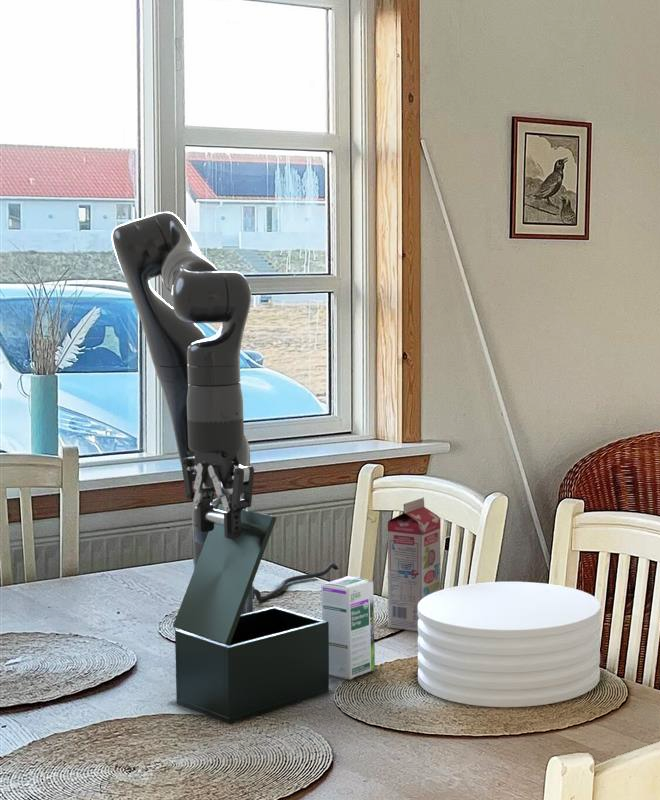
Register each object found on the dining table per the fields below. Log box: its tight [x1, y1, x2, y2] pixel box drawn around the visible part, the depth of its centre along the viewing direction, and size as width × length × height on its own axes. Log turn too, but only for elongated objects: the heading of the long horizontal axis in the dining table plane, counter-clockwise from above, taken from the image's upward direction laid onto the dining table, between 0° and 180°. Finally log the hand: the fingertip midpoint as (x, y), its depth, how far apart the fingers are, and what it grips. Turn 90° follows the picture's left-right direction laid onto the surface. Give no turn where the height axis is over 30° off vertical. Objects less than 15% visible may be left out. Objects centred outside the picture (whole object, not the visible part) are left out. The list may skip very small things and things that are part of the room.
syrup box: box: [320, 575, 376, 680], centre depth 209 cm, size 6×6×14 cm
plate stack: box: [417, 581, 602, 708], centre depth 209 cm, size 28×28×12 cm
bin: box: [174, 606, 330, 725], centre depth 197 cm, size 18×13×11 cm
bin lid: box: [172, 504, 277, 645], centre depth 190 cm, size 18×13×5 cm
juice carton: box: [387, 496, 442, 632], centre depth 236 cm, size 7×7×22 cm
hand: (219, 533), depth 191 cm, fingers closed on bin lid, 5 cm apart
